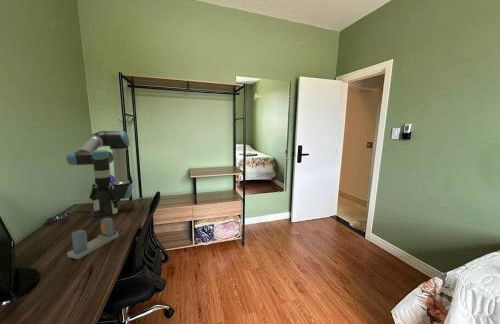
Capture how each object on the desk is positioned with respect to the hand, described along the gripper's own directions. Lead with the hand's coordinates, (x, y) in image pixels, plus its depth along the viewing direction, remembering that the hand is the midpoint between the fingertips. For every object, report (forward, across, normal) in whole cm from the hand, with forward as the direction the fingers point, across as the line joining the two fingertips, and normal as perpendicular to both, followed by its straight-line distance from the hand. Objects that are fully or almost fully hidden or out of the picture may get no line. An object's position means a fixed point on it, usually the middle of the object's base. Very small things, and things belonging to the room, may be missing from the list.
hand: (106, 211), depth 122 cm
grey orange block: (+15, 0, 0) cm, 15 cm away
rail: (+17, 0, +8) cm, 19 cm away
